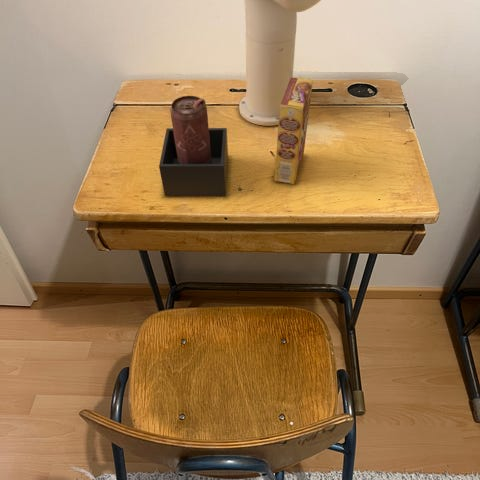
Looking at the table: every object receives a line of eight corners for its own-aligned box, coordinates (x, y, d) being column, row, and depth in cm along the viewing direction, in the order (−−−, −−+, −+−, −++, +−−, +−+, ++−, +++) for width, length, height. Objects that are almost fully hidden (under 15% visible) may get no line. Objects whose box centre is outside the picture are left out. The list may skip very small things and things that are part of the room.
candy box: (296, 185, 86) (303, 107, 73) (273, 182, 87) (277, 104, 74) (305, 156, 91) (313, 78, 78) (283, 153, 91) (288, 75, 79)
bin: (171, 158, 91) (166, 128, 86) (228, 158, 91) (226, 127, 86) (164, 196, 85) (158, 166, 80) (225, 196, 85) (223, 165, 79)
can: (220, 173, 87) (215, 102, 76) (194, 189, 85) (185, 118, 73) (199, 160, 90) (191, 89, 78) (173, 175, 87) (161, 104, 76)
